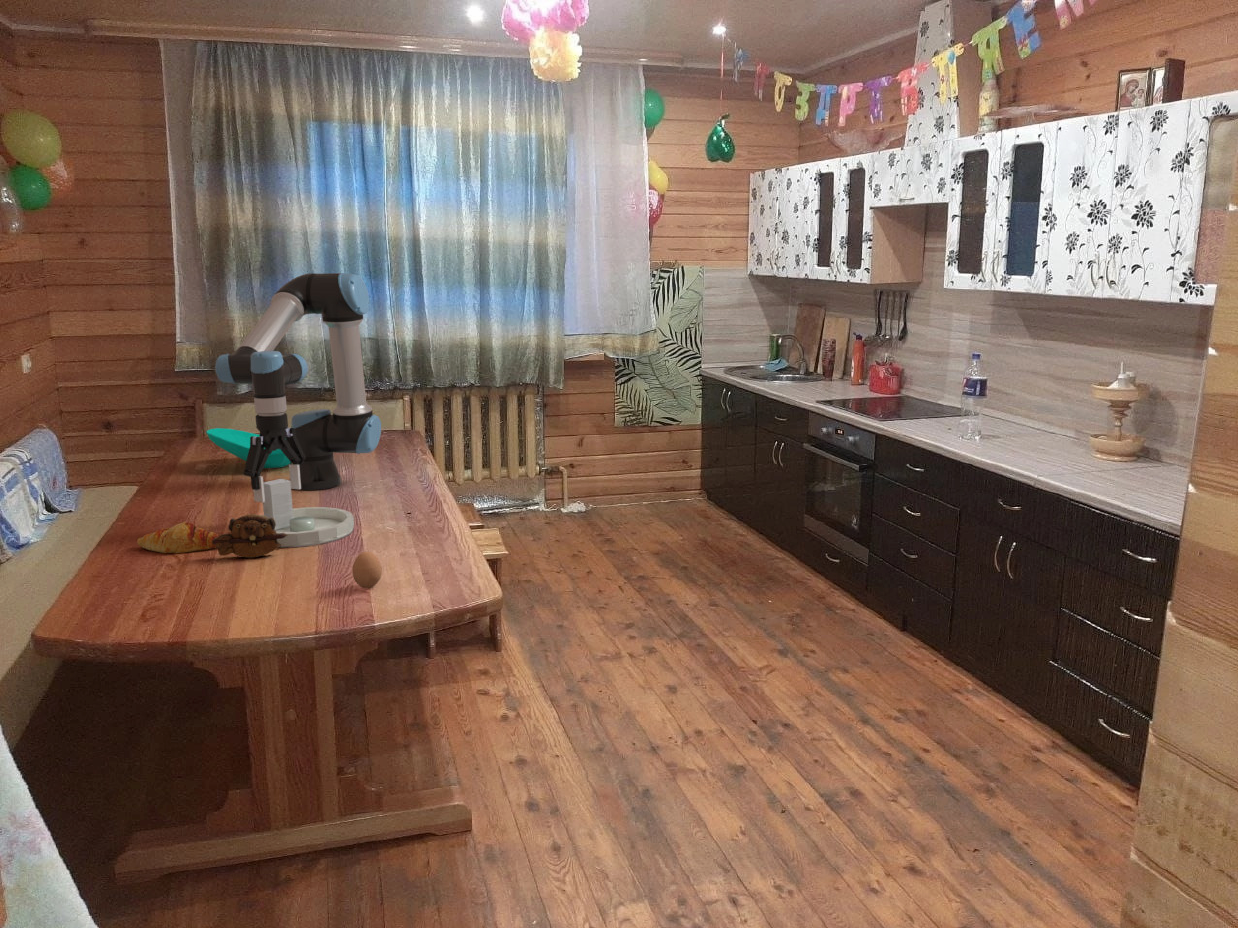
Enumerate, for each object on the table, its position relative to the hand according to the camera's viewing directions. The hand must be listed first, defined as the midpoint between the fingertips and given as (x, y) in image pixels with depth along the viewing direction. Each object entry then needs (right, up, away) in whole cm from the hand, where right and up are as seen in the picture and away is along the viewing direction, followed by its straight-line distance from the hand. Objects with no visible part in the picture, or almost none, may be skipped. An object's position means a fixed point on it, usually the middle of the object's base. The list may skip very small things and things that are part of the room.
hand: (278, 495), depth 239 cm
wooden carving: (+1, -14, -20) cm, 25 cm away
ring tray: (+6, -10, -1) cm, 12 cm away
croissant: (-18, -13, -13) cm, 26 cm away
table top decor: (-30, +7, +77) cm, 83 cm away
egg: (+34, -18, -41) cm, 56 cm away
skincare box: (0, -8, +1) cm, 9 cm away
